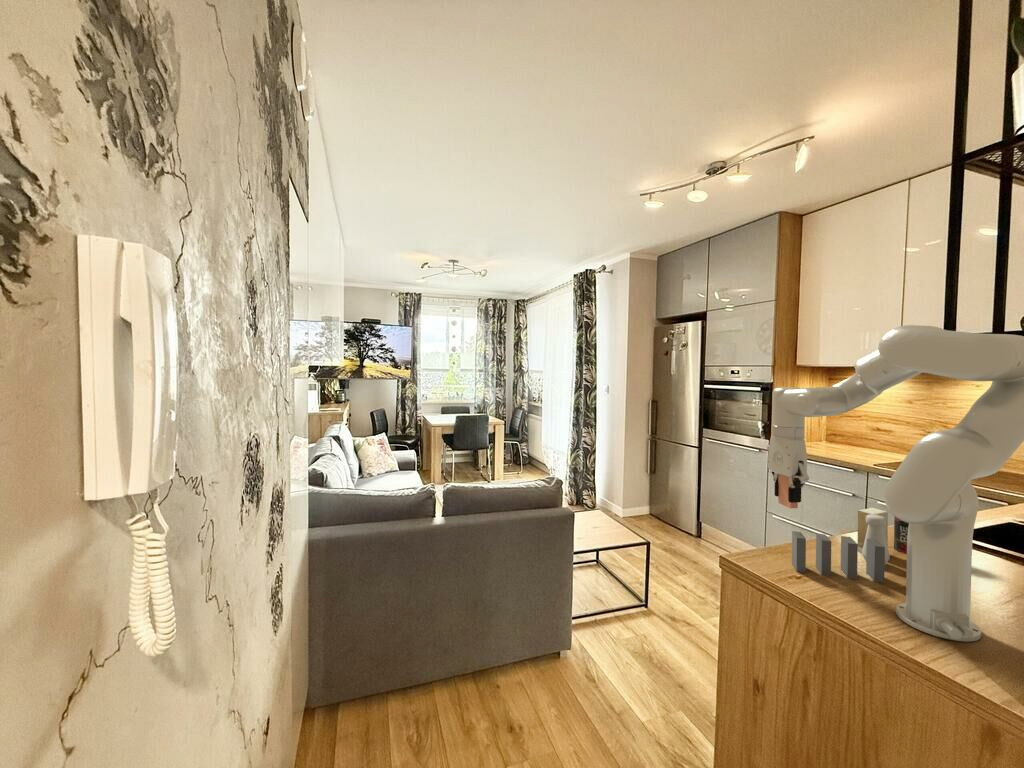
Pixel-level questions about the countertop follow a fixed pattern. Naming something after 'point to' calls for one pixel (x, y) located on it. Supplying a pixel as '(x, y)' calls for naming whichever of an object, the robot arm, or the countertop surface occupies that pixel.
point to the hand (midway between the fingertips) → (787, 498)
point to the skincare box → (863, 525)
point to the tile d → (875, 560)
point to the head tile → (785, 491)
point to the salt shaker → (876, 533)
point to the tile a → (799, 552)
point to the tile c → (849, 557)
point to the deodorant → (900, 535)
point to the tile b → (823, 554)
